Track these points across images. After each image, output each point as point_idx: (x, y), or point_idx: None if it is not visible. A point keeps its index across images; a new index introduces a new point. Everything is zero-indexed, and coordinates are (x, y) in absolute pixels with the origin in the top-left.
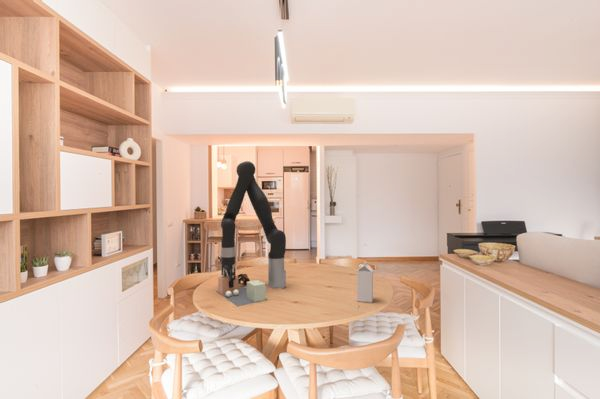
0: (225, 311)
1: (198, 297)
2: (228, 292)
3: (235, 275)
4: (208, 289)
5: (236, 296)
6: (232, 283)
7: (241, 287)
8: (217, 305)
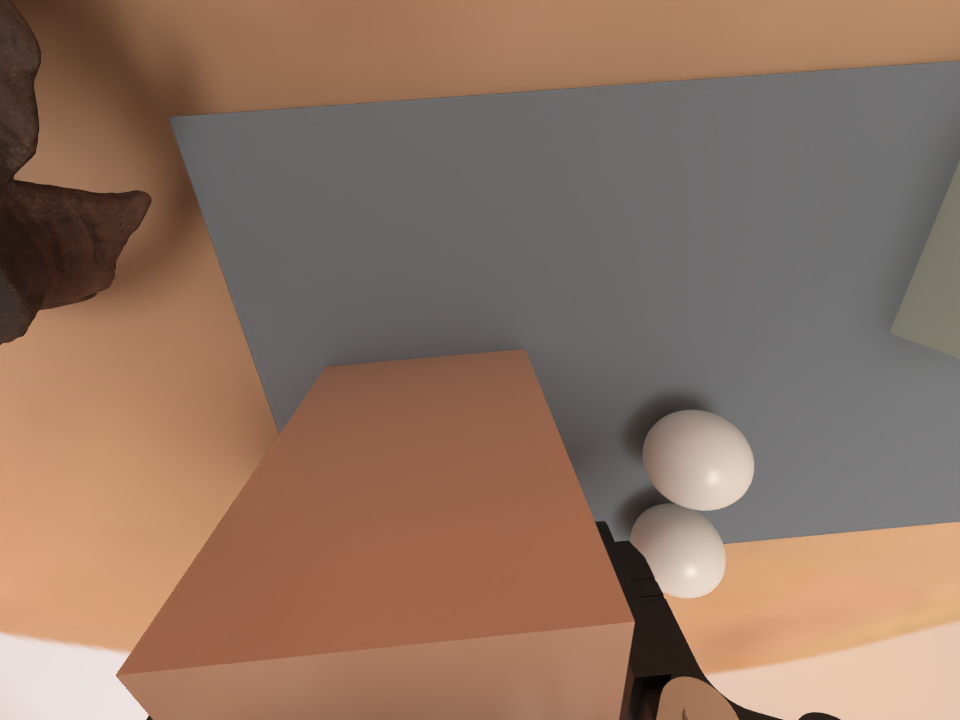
0: (940, 583)
1: None
2: (719, 582)
3: (296, 657)
4: (127, 595)
5: None
6: (666, 620)
7: (254, 198)
8: (748, 604)
